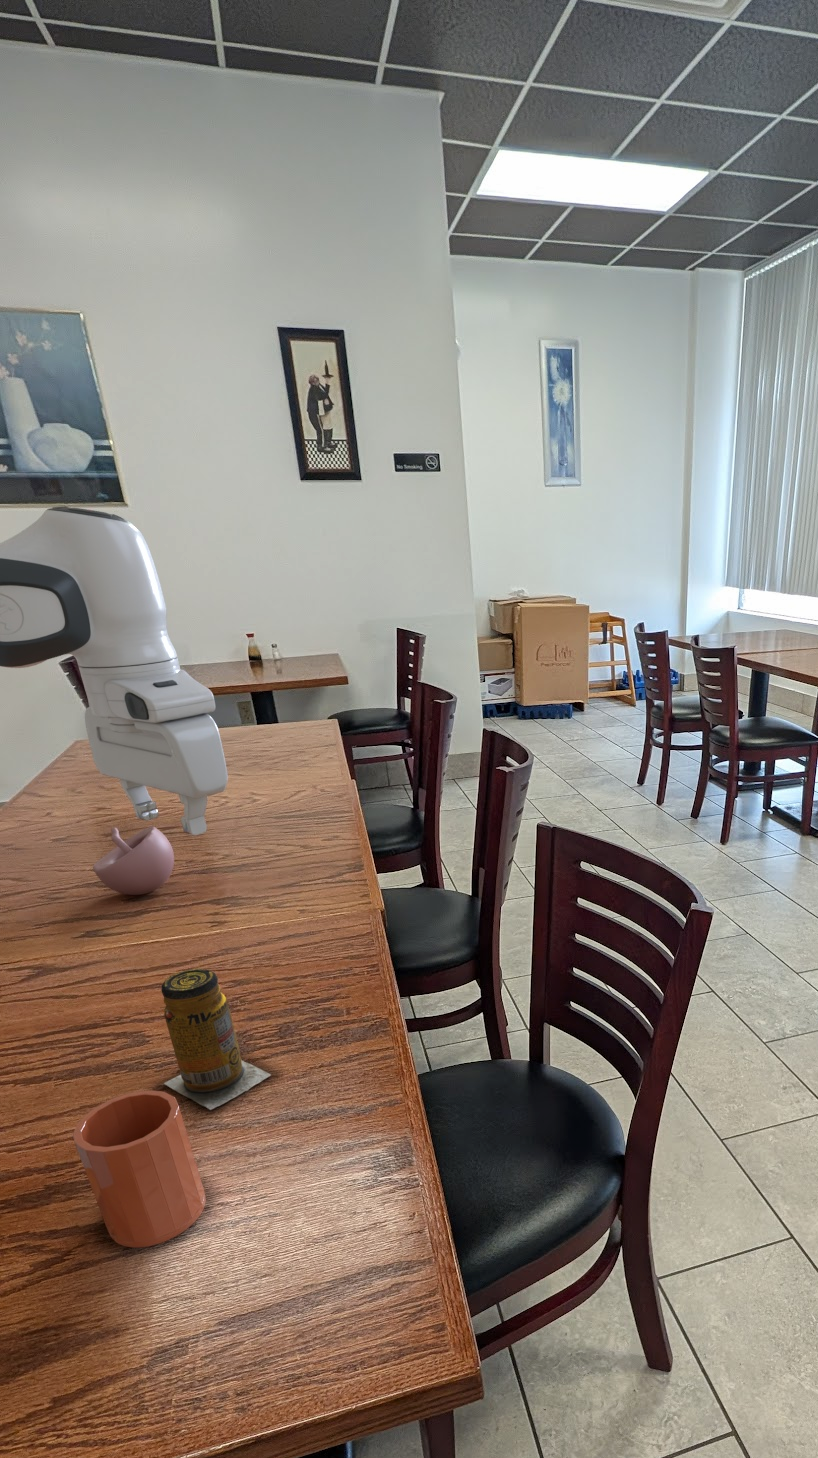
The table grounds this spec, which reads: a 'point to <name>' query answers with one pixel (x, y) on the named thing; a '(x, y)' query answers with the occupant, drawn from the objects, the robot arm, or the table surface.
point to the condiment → (205, 1040)
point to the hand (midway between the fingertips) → (171, 825)
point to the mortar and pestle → (136, 862)
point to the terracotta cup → (141, 1167)
